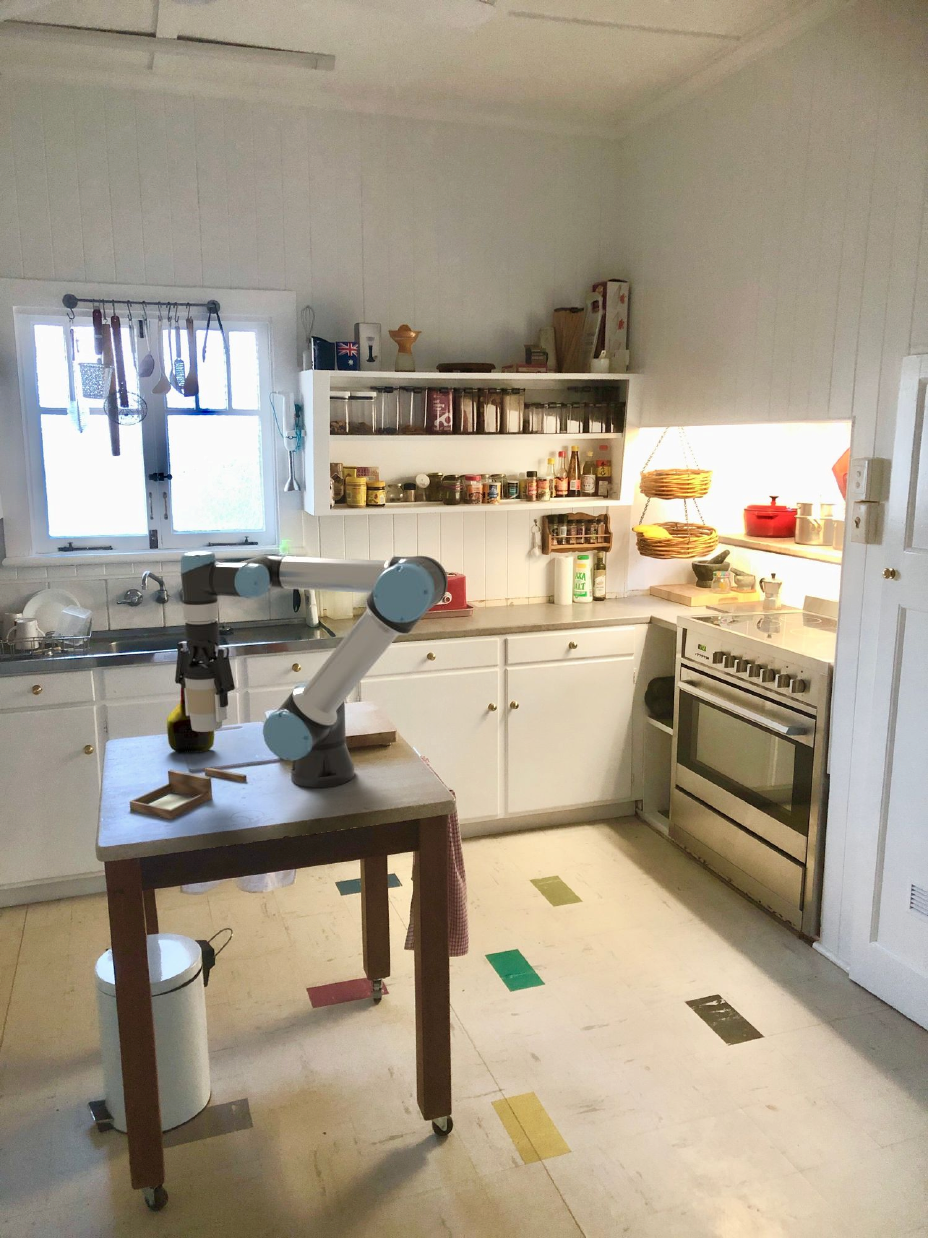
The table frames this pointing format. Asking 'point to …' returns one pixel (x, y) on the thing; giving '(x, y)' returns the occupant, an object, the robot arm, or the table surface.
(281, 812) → the table surface
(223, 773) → the rail
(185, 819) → the table surface
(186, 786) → the tray
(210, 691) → the coffee cup
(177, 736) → the bottle
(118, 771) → the table surface
